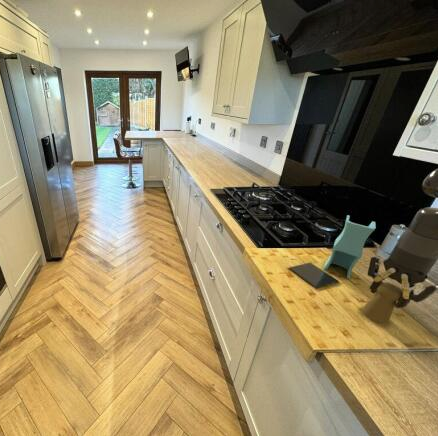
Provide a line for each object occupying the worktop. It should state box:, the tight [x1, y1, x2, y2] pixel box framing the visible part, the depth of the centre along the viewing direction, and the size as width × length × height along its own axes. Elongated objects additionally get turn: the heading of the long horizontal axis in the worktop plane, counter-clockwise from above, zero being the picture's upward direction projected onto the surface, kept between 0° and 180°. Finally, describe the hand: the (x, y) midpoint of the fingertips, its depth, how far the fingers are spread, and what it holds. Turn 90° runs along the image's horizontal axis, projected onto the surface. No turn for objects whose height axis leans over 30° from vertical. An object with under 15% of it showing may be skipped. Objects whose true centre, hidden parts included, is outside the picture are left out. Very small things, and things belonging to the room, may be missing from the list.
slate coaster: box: [288, 262, 340, 289], centre depth 85 cm, size 11×11×1 cm
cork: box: [361, 282, 403, 325], centre depth 67 cm, size 6×6×11 cm
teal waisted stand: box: [323, 214, 377, 279], centre depth 84 cm, size 8×8×20 cm
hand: (385, 298), depth 66 cm, fingers closed on cork, 5 cm apart
